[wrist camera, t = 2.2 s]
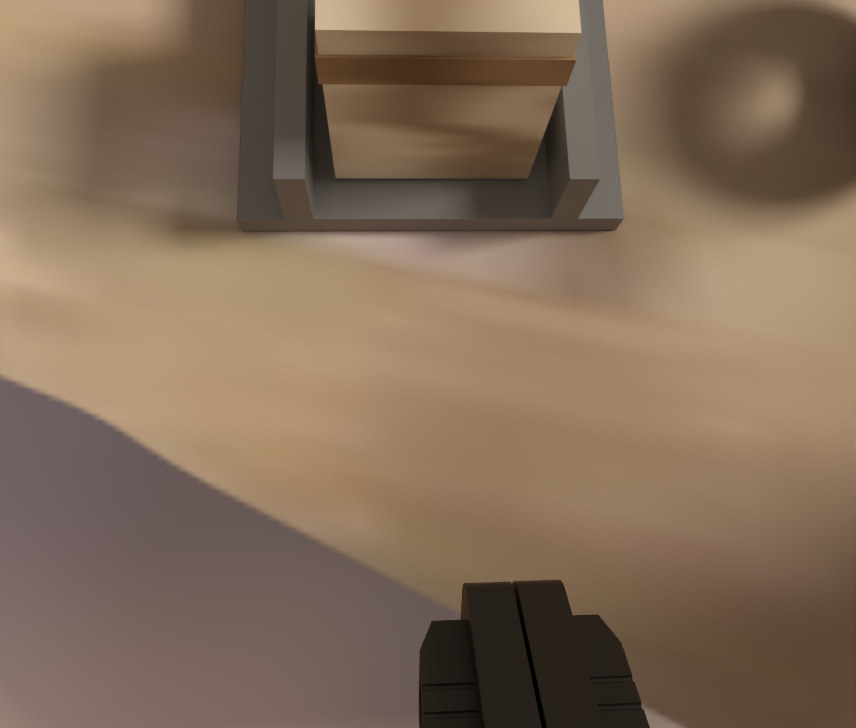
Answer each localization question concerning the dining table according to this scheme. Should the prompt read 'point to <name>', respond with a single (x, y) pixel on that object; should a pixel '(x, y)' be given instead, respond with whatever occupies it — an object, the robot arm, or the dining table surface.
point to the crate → (442, 84)
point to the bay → (412, 198)
